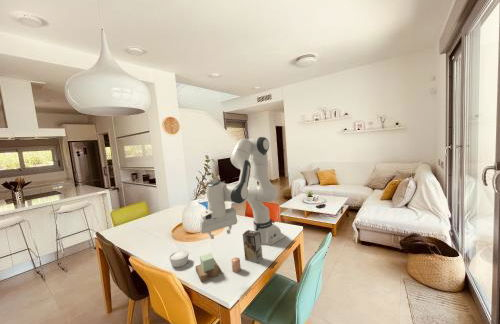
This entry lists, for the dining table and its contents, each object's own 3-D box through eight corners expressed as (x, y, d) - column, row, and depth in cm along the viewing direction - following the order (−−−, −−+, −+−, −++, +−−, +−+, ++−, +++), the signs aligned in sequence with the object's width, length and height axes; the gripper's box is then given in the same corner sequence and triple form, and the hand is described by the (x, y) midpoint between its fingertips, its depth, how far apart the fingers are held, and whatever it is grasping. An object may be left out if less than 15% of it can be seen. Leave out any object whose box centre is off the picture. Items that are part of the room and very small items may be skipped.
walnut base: (214, 264, 123) (214, 259, 122) (221, 274, 113) (220, 268, 113) (196, 271, 118) (195, 266, 118) (201, 281, 108) (200, 276, 108)
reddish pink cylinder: (238, 266, 119) (237, 256, 118) (242, 270, 114) (241, 260, 114) (231, 269, 116) (230, 259, 116) (234, 273, 112) (233, 263, 112)
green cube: (211, 262, 119) (210, 252, 119) (214, 268, 114) (213, 257, 113) (201, 266, 116) (199, 256, 116) (203, 272, 111) (202, 261, 111)
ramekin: (173, 259, 133) (172, 251, 132) (191, 256, 134) (190, 249, 133) (167, 269, 122) (166, 261, 121) (187, 267, 123) (186, 258, 122)
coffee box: (263, 258, 125) (260, 232, 123) (257, 263, 120) (255, 236, 118) (250, 254, 130) (248, 229, 128) (244, 259, 125) (242, 234, 123)
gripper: (233, 205, 120) (235, 228, 121) (197, 214, 111) (200, 239, 112) (237, 208, 114) (240, 232, 116) (200, 218, 105) (203, 244, 107)
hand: (220, 235), depth 114 cm, fingers open, 8 cm apart
